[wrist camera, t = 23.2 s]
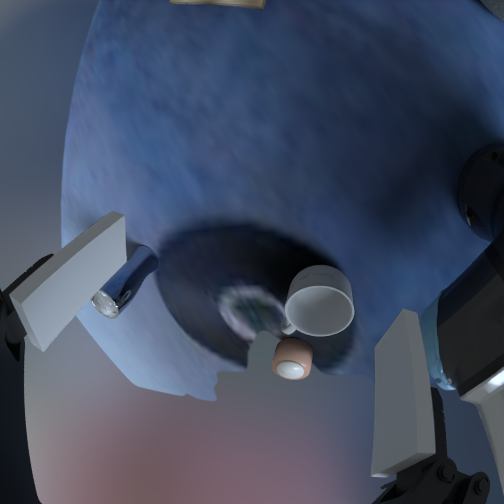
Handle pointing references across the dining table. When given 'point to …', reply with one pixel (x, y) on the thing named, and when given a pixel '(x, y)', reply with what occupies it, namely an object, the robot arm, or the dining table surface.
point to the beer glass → (125, 282)
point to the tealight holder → (292, 359)
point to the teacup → (318, 302)
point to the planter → (495, 7)
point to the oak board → (225, 3)
